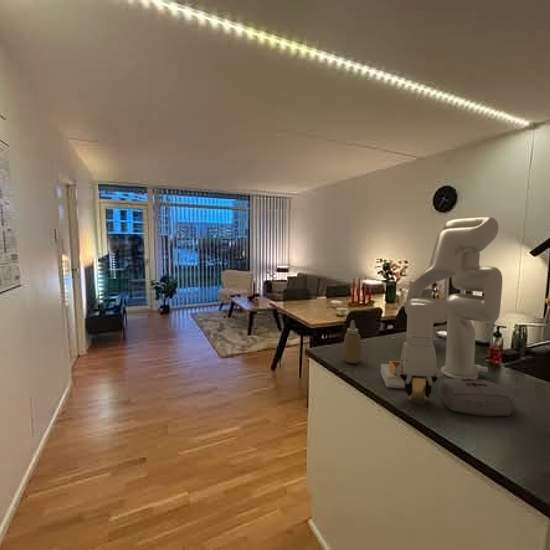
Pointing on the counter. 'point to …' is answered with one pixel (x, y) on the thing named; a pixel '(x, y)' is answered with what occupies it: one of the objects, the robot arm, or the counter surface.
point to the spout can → (418, 389)
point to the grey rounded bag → (476, 397)
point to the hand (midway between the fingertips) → (417, 394)
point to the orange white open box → (392, 375)
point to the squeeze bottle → (352, 345)
